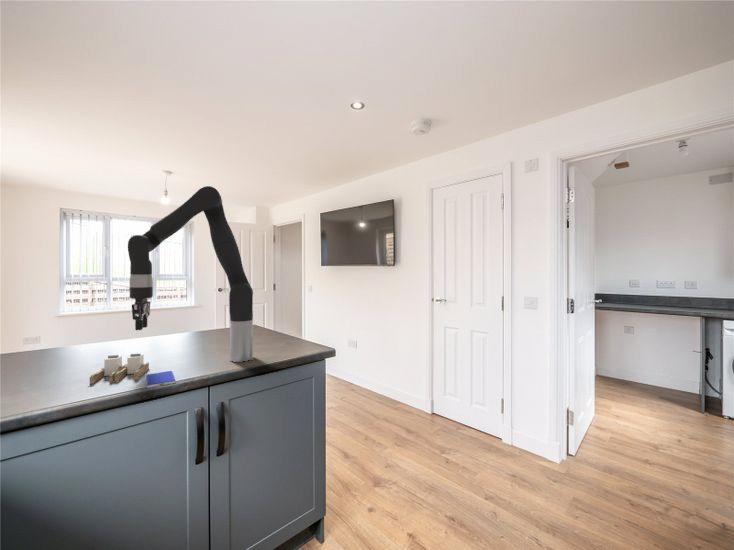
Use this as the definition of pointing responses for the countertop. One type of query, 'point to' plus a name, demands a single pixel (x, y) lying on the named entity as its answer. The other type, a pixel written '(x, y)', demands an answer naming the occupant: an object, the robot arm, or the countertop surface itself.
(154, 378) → the hard drive
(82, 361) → the countertop surface
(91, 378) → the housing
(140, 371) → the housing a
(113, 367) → the tab
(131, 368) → the tab
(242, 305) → the robot arm
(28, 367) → the countertop surface
